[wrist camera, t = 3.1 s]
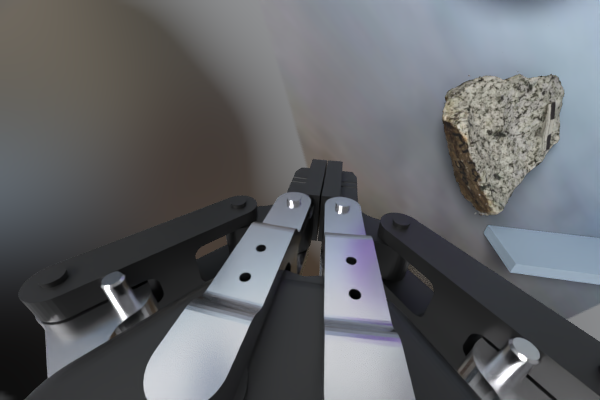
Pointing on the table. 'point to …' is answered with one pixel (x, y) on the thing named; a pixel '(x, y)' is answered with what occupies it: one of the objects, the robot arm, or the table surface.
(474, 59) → the table surface
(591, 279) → the box
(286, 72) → the table surface
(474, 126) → the rock sample
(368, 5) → the table surface
